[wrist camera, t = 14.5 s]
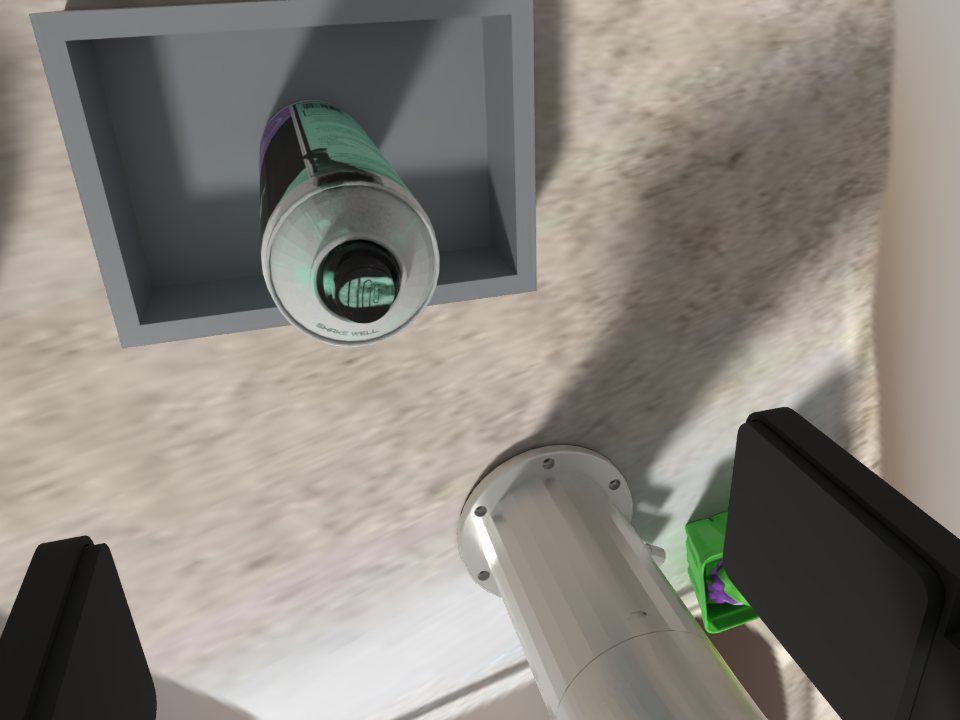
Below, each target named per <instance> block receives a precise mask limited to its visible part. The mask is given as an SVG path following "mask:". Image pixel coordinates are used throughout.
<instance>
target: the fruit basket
mask: <svg viewBox="0 0 960 720" xmlns="http://www.w3.org/2000/svg"><path fill="white" fill-rule="evenodd" d="M727 515H728V511H726V512H723V513H720V514H717V515H715V516H713V517H711V518H710V519H701V520H698V521H695V522H692V523H689V524H687V525H686V527H685V530H686V533H687V536H688V537H687V541H686V545H687V560H688V563H689V568H688V574H689V577H690V580H691V582H692V585H693V588H694V591H695V594H696V597H697V600H698V602H699V605H700V608H701V611H702V619H703V622H704V625H705V629H706V630H707V632H709V633H718V632H721V631H724V630H727V629H729V628H733V627H735V626H739V625H741V624H744V623H747V622H749V621H752V620H756V619H758V618H760V617H759V616H758V615H757V613H756V612H755V611H754V610H753V608H752V607H751V606H750V605H749V603H748V602H747V601H746V600H745V598H744V597H743V596H742V595H741V593H740V592H739V591H738V590H737V588H736V587H735V586H734V585H733V584H732V582H731V581H730V579H729V578H728V576H727V574H726V572H725V569H724V566H723V548H724V540H725V532H726V524H727Z"/></svg>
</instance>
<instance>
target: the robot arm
mask: <svg viewBox="0 0 960 720" xmlns="http://www.w3.org/2000/svg"><path fill="white" fill-rule="evenodd" d="M632 513H633V503H632V497H631V492H630V489H629V487H628V485H627V483H626V480H625V479H624V477H623V476H622V475H621V473H620V472H619V471H618V469H617V468H616V467H615V466H614V465H613V464H612V463H611V462H610V461H609V460H608V459H607V458H605V457H603V456H602V455H600V454H599V453H597V452H595V451H592V450H589V449H586V448H583V447H579V446H571V445H553V446H545V447H541V448H536V449H532V450H529V451H527V452H524V453H522V454H519V455H517V456H514V457H513V458H511V459H509V460H508V461H506V462H504V463H502V464H501V465H499V466H498V467H497V468H495V469H494V470H493V471H492V472H491V473H489V474H488V475H487V476H486V477H485V478H484V479H483V480H482V481H481V482H480V483H479V485H478V486H477V487H476V488H475V489H474V490H473V492H472V494H471V495H470V497H469V498H468V500H467V502H466V503H465V505H464V508H463V511H462V513H461V516H460V519H459V524H458V531H457V540H458V549H459V552H460V555H461V558H462V562H463V564H464V566H465V568H466V570H467V572H468V574H469V575H470V577H471V578H472V579H473V580H474V582H475V583H476V584H478V585H479V586H480V587H482V588H483V589H484V590H486V591H487V592H489V593H491V594H494V595H496V596H498V597H501V598H502V599H503V601H504V604H505V606H506V609H507V611H508V614H509V616H510V619H511V621H512V624H513V626H514V628H515V631H516V633H517V636H518V638H519V641H520V643H521V646H522V648H523V651H524V653H525V656H526V658H527V661H528V663H529V666H530V668H531V670H532V673H533V675H534V678H535V680H536V683H537V685H538V688H539V690H540V693H541V695H542V697H543V700H544V703H545V705H546V707H547V710H548V712H549V715H550V717H551V720H768V719H767V718H766V717H765V716H764V714H763V713H762V712H761V711H760V709H759V708H758V707H757V705H756V704H755V703H754V701H753V700H752V699H751V697H750V696H749V695H748V693H747V692H746V690H745V689H744V688H743V686H742V685H741V684H740V682H739V681H738V679H737V678H736V677H735V675H734V674H733V672H732V671H731V670H730V668H729V667H728V666H727V664H726V662H725V661H724V660H723V658H722V657H721V655H720V654H719V652H718V651H717V650H716V648H715V647H714V646H713V644H712V643H711V641H710V640H709V639H708V637H707V636H706V634H705V633H704V631H703V630H702V629H701V627H700V626H699V624H698V623H697V622H696V620H695V619H694V617H693V616H692V614H691V613H690V611H689V610H688V609H687V607H686V606H685V604H684V603H683V601H682V600H681V599H680V597H679V596H678V594H677V593H676V591H675V590H674V589H673V587H672V586H671V584H670V583H669V581H668V580H667V579H666V577H665V576H664V574H663V573H662V571H661V570H660V568H659V566H661V565H662V564H663V563H664V560H665V551H664V549H662V548H661V547H658V546H654V545H651V544H645V543H644V542H643V541H642V539H641V538H640V536H639V535H638V534H637V532H636V531H635V529H634V528H633V526H632V525H631V521H632ZM723 566H724V569H725V572H726V574H727V576H728V578H729V579H730V581H731V582H732V584H733V585H734V586H735V587H736V588H737V590H738V591H739V592H740V593H741V595H742V596H743V597H744V598H745V600H746V601H747V602H748V603H749V605H750V606H751V607H752V608H753V610H754V611H755V612H756V613H757V615H758V616H759V617H760V618H761V620H762V621H763V622H764V623H765V624H766V626H767V627H768V628H769V629H770V631H771V632H772V633H773V634H774V636H775V637H776V638H777V639H778V641H779V642H780V643H781V644H782V646H783V647H784V648H785V649H786V651H787V652H788V653H789V654H790V656H791V657H792V658H793V659H794V661H795V662H796V663H797V664H798V665H799V667H800V668H801V669H802V670H803V672H804V673H805V674H806V675H807V677H808V678H809V679H810V680H811V682H812V683H813V684H814V685H815V687H816V688H817V689H818V690H819V692H820V693H821V694H822V695H823V697H824V698H825V699H826V700H827V701H828V703H829V704H830V705H831V706H832V708H833V709H834V710H835V711H836V713H837V714H838V715H839V716H840V718H841V719H842V720H960V539H959V538H957V537H956V536H955V535H953V534H952V533H951V532H950V531H948V530H947V529H946V528H944V527H943V526H942V525H941V524H939V523H938V522H937V521H935V520H934V519H933V518H931V517H930V516H929V515H928V514H926V513H925V512H924V511H923V510H921V509H920V508H919V507H917V506H916V505H915V504H914V503H912V502H911V501H910V500H908V499H907V498H906V497H905V496H903V495H902V494H900V493H899V492H898V491H897V490H896V489H894V488H893V487H891V486H890V485H889V484H888V483H887V482H885V481H884V480H883V479H881V478H880V477H879V476H878V475H876V474H875V473H874V472H872V471H871V470H870V469H869V468H867V467H866V466H865V465H863V464H862V463H861V462H860V461H858V460H857V459H856V458H854V457H853V456H852V455H851V454H849V453H848V452H847V451H845V450H844V449H843V448H842V447H840V446H839V445H838V444H836V443H835V442H834V441H833V440H831V439H830V438H829V437H827V436H826V435H825V434H823V433H822V432H821V431H820V430H818V429H817V428H816V427H814V426H813V425H812V424H811V423H809V422H808V421H807V420H805V419H804V418H803V417H802V416H800V415H799V414H798V413H796V412H795V411H794V410H792V409H790V408H789V407H781V408H775V409H770V410H765V411H759V412H754V413H752V414H750V415H749V417H748V418H747V420H746V423H744V424H742V425H741V426H740V428H739V430H738V435H737V443H736V451H735V459H734V467H733V475H732V483H731V491H730V499H729V507H728V515H727V524H726V532H725V540H724V548H723ZM156 707H157V701H156V692H155V687H154V683H153V680H152V677H151V674H150V671H149V668H148V665H147V662H146V658H145V655H144V652H143V649H142V646H141V643H140V640H139V637H138V634H137V631H136V628H135V625H134V622H133V619H132V616H131V613H130V610H129V606H128V603H127V600H126V597H125V594H124V591H123V588H122V585H121V582H120V579H119V576H118V573H117V570H116V567H115V564H114V561H113V557H112V554H111V552H110V549H109V547H108V546H107V544H105V543H102V544H97V545H94V544H93V541H92V540H91V538H90V537H89V536H86V535H85V536H80V537H74V538H69V539H64V540H58V541H53V542H47V543H42V544H40V545H38V547H37V549H36V550H35V553H34V555H33V558H32V560H31V563H30V565H29V568H28V570H27V573H26V575H25V578H24V580H23V583H22V585H21V588H20V590H19V593H18V595H17V598H16V600H15V603H14V605H13V608H12V610H11V613H10V615H9V618H8V620H7V623H6V626H5V628H4V631H3V633H2V636H1V638H0V720H155V719H156V710H157V708H156Z"/></svg>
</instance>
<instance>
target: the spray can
mask: <svg viewBox="0 0 960 720" xmlns="http://www.w3.org/2000/svg"><path fill="white" fill-rule="evenodd" d="M259 184H260V228H261V260H262V270H263V275H264V278H265V282H266V285H267V288H268V290H269V292H270V294H271V297H272V298H273V300H274V302H275V304H276V306H277V307H278V309H279V311H280V312H281V313H282V314H283V316H284V317H285V318H286V319H287V320H288V321H289V322H290V324H292V325H293V326H294V327H296V328H297V329H298V330H299V331H301V332H302V333H303V334H305V335H307V336H309V337H311V338H313V339H315V340H317V341H320V342H324V343H327V344H331V345H335V346H344V347H357V346H367V345H371V344H375V343H379V342H383V341H385V340H387V339H389V338H391V337H393V336H396V335H397V334H399V333H400V332H402V331H403V330H405V329H406V328H407V327H409V326H410V325H411V324H412V323H413V322H414V321H415V320H416V319H417V318H418V317H419V316H420V315H421V314H422V312H423V311H424V309H425V308H426V306H427V305H428V304H429V302H430V300H431V298H432V295H433V293H434V291H435V288H436V285H437V280H438V276H439V263H440V255H439V250H438V245H437V240H436V237H435V232H434V229H433V227H432V225H431V222H430V220H429V217H428V216H427V214H426V213H425V211H424V210H423V208H422V207H421V205H420V204H419V202H418V201H417V200H416V198H415V197H414V196H413V194H412V193H411V192H410V190H409V189H408V188H407V187H406V185H405V184H404V183H403V181H402V180H401V179H400V177H399V176H398V175H397V173H396V172H395V171H394V169H393V168H392V167H391V165H390V164H389V163H388V161H387V160H386V159H385V157H384V156H383V155H382V153H381V152H380V151H379V149H378V148H377V147H376V145H375V144H374V143H373V141H372V140H371V139H370V137H369V136H368V135H367V133H366V132H365V131H364V130H363V128H362V127H361V126H360V124H359V123H358V122H357V121H356V120H355V119H354V118H353V117H352V116H351V115H350V114H349V113H348V112H346V111H345V110H343V109H342V108H340V107H339V106H336V105H334V104H332V103H329V102H325V101H320V100H304V101H299V102H295V103H293V104H290V105H288V106H286V107H284V108H283V109H282V110H280V111H279V112H277V113H276V114H275V115H274V117H273V118H272V119H271V120H270V121H269V123H268V124H267V126H266V128H265V129H264V132H263V135H262V138H261V141H260V147H259Z"/></svg>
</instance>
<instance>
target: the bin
mask: <svg viewBox="0 0 960 720" xmlns="http://www.w3.org/2000/svg"><path fill="white" fill-rule="evenodd" d="M29 16H30V20H31V23H32V27H33V30H34V34H35V38H36V41H37V45H38V48H39V52H40V55H41V59H42V63H43V66H44V70H45V73H46V77H47V81H48V84H49V88H50V91H51V95H52V98H53V102H54V106H55V109H56V113H57V116H58V120H59V124H60V127H61V131H62V134H63V138H64V142H65V145H66V149H67V152H68V156H69V159H70V163H71V167H72V170H73V174H74V177H75V181H76V185H77V188H78V192H79V195H80V199H81V203H82V206H83V210H84V213H85V217H86V220H87V224H88V228H89V231H90V235H91V238H92V242H93V246H94V249H95V253H96V256H97V260H98V263H99V267H100V271H101V274H102V278H103V281H104V285H105V289H106V292H107V296H108V299H109V303H110V307H111V310H112V314H113V317H114V321H115V324H116V328H117V332H118V335H119V339H120V342H121V346H122V348H129V347H136V346H143V345H150V344H157V343H165V342H172V341H179V340H186V339H193V338H201V337H208V336H215V335H222V334H229V333H237V332H244V331H251V330H258V329H265V328H273V327H280V326H287V325H292V324H290V322H289V321H288V320H287V319H286V318H285V317H284V316H283V314H282V313H281V312H280V311H279V309H278V307H277V306H276V304H275V302H274V300H273V298H272V297H271V294H270V292H269V290H268V288H267V285H266V282H265V278H264V275H263V270H262V260H261V228H260V184H259V147H260V141H261V138H262V135H263V132H264V129H265V128H266V126H267V124H268V123H269V121H270V120H271V119H272V118H273V117H274V115H275V114H276V113H277V112H279V111H280V110H282V109H283V108H284V107H286V106H288V105H290V104H293V103H295V102H299V101H304V100H320V101H325V102H329V103H332V104H334V105H336V106H339V107H340V108H342V109H343V110H345V111H346V112H348V113H349V114H350V115H351V116H352V117H353V118H354V119H355V120H356V121H357V122H358V123H359V124H360V126H361V127H362V128H363V130H364V131H365V132H366V133H367V135H368V136H369V137H370V139H371V140H372V141H373V143H374V144H375V145H376V147H377V148H378V149H379V151H380V152H381V153H382V155H383V156H384V157H385V159H386V160H387V161H388V163H389V164H390V165H391V167H392V168H393V169H394V171H395V172H396V173H397V175H398V176H399V177H400V179H401V180H402V181H403V183H404V184H405V185H406V187H407V188H408V189H409V190H410V192H411V193H412V194H413V196H414V197H415V198H416V200H417V201H418V202H419V204H420V205H421V207H422V208H423V210H424V211H425V213H426V214H427V216H428V217H429V220H430V222H431V225H432V227H433V229H434V232H435V237H436V240H437V245H438V250H439V255H440V263H439V276H438V280H437V285H436V288H435V291H434V293H433V295H432V298H431V300H430V302H429V304H428V305H427V306H431V305H438V304H445V303H452V302H460V301H467V300H474V299H481V298H488V297H496V296H503V295H510V294H517V293H524V292H532V291H537V279H536V194H535V108H534V23H533V0H260V1H241V2H221V3H202V4H182V5H163V6H143V7H123V8H104V9H84V10H65V11H54V12H43V13H33V14H29Z"/></svg>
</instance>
